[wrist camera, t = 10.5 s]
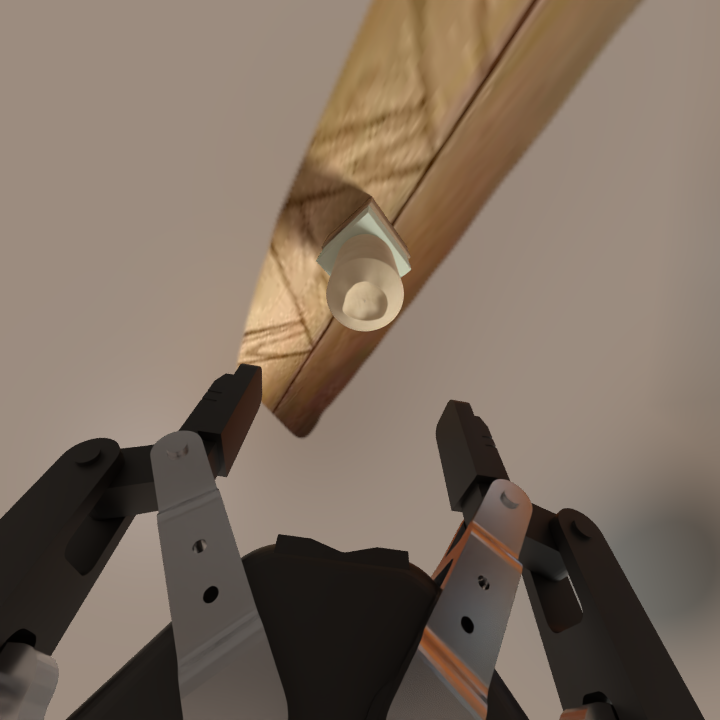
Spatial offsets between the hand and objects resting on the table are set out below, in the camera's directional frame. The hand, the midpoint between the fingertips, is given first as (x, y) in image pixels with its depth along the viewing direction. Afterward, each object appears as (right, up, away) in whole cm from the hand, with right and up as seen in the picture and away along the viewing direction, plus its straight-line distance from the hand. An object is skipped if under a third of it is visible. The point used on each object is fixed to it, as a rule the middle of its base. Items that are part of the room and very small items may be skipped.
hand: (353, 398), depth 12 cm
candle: (+1, +11, +16) cm, 19 cm away
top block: (+1, +14, +20) cm, 24 cm away
